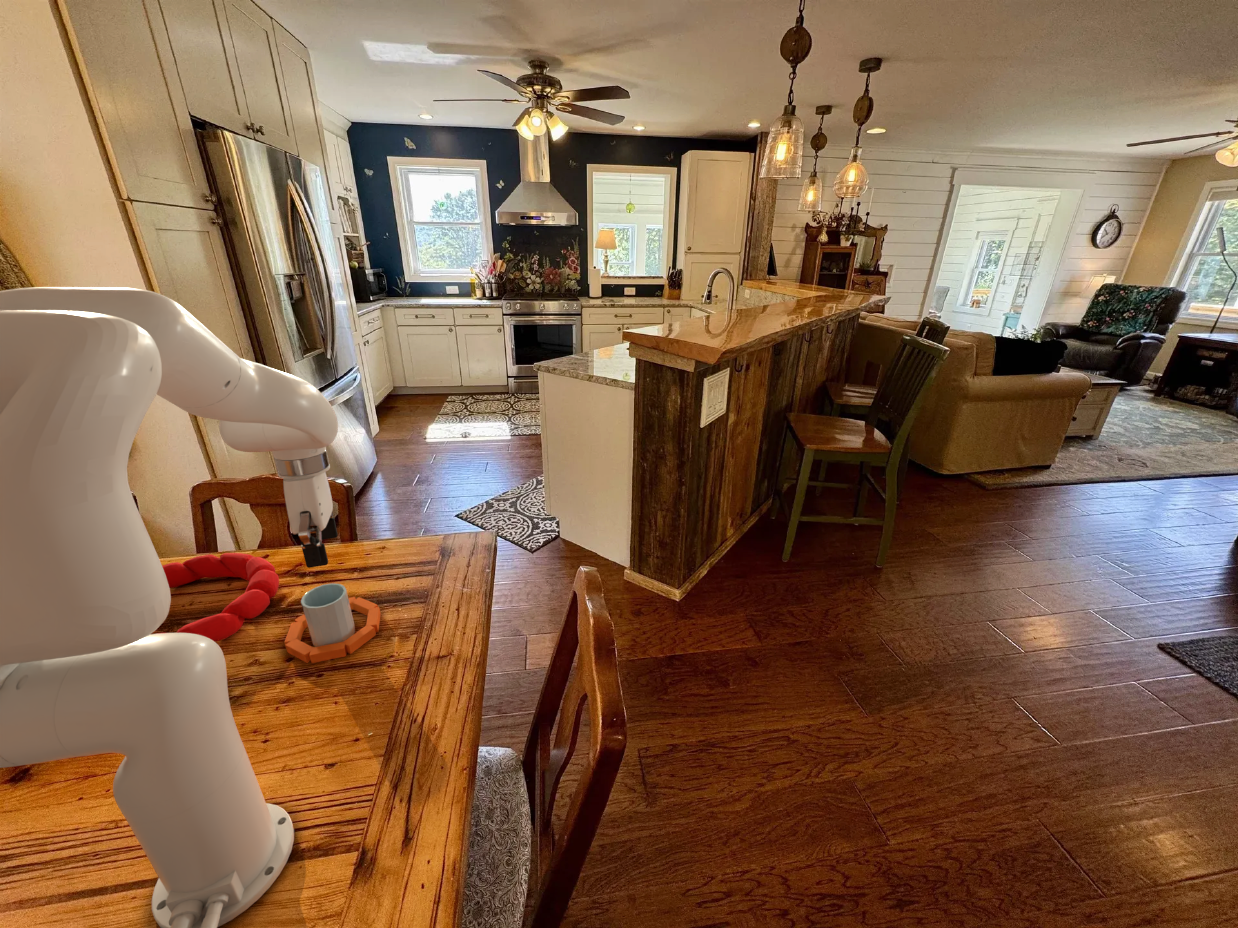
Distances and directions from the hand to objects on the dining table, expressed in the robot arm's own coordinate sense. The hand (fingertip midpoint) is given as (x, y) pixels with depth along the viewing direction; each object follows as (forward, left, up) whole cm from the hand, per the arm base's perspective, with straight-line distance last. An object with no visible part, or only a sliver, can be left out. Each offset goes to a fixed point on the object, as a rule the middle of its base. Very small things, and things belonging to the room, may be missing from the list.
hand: (323, 551), depth 89 cm
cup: (-6, 0, -14) cm, 16 cm away
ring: (-5, 0, -14) cm, 15 cm away
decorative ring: (+9, +27, -15) cm, 32 cm away
